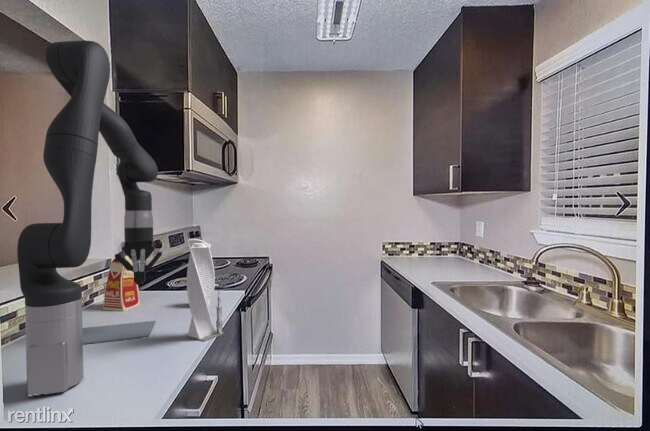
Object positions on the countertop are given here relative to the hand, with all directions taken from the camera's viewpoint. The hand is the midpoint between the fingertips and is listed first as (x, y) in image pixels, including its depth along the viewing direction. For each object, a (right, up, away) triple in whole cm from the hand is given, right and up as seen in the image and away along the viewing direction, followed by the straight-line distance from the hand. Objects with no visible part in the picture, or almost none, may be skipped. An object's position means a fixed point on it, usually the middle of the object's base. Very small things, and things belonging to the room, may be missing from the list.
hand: (139, 283), depth 103 cm
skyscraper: (+20, -14, -4) cm, 25 cm away
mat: (-9, -14, -3) cm, 17 cm away
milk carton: (-20, -14, +25) cm, 35 cm away
